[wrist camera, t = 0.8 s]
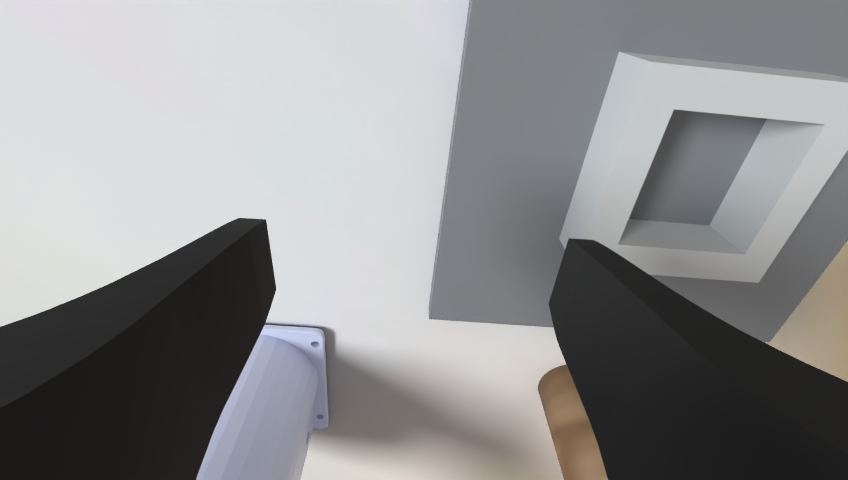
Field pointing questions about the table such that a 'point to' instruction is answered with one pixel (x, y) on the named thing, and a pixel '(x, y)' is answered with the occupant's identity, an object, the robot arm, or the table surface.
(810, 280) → the grey flat piece
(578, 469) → the walnut peg
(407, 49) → the table surface
